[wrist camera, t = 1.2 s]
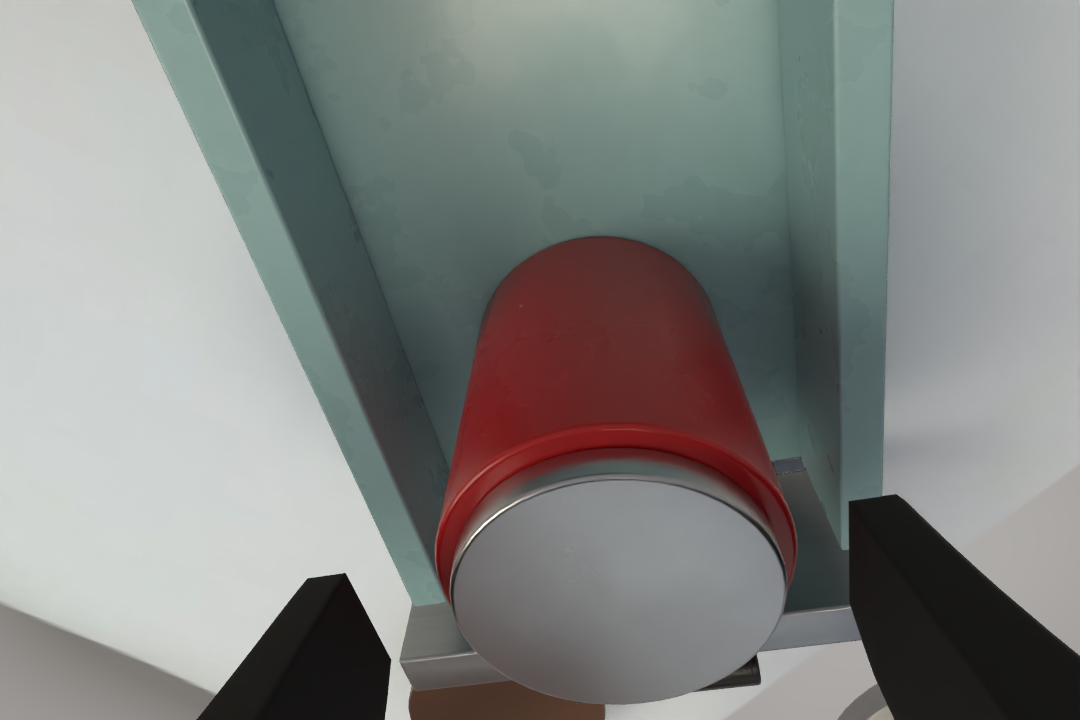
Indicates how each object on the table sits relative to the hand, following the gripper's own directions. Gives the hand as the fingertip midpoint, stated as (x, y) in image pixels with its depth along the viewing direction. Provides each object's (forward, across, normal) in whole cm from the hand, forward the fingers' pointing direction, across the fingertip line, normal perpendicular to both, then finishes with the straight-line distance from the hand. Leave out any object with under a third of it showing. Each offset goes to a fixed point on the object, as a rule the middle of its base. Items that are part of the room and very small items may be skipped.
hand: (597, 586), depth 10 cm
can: (+6, 0, 0) cm, 7 cm away
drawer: (+8, 0, 0) cm, 8 cm away
